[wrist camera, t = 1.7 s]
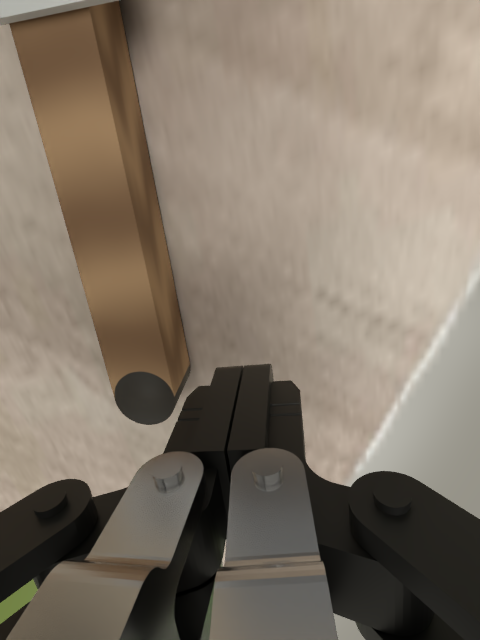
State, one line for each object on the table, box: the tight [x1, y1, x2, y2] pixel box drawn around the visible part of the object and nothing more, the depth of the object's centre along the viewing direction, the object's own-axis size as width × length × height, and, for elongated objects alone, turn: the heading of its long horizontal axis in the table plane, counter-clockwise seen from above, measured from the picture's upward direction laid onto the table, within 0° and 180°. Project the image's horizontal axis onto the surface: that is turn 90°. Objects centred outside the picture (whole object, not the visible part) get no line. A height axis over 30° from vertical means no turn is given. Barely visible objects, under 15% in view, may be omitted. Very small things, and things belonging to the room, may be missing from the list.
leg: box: [9, 1, 190, 425], centre depth 21 cm, size 24×4×4 cm, turn 8°
